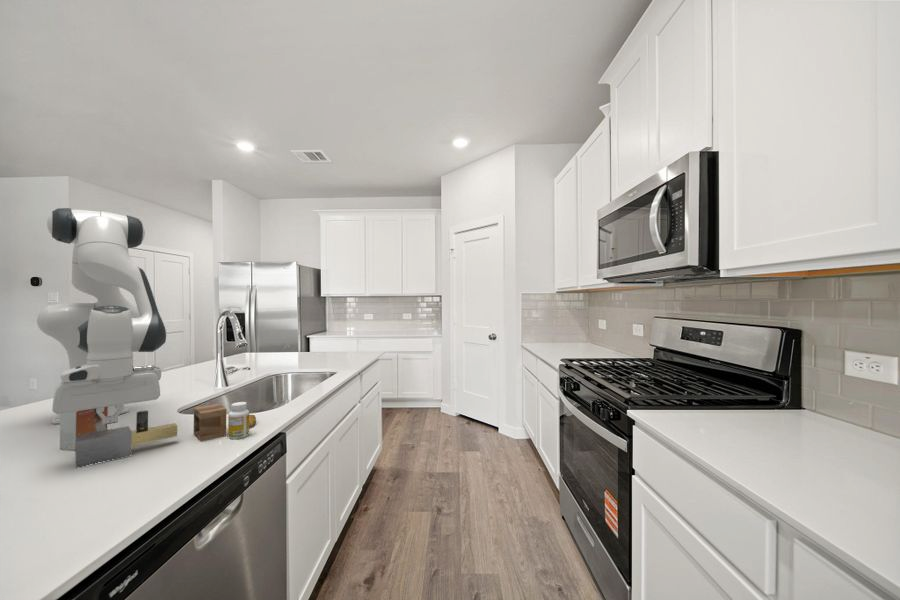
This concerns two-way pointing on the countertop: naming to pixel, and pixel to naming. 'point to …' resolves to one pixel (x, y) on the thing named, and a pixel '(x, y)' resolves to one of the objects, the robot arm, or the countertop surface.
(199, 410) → the socket
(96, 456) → the sleeve
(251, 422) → the pastry
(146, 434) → the yellow bar with knob
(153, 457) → the countertop surface
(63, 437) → the small box
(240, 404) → the supplement bottle
